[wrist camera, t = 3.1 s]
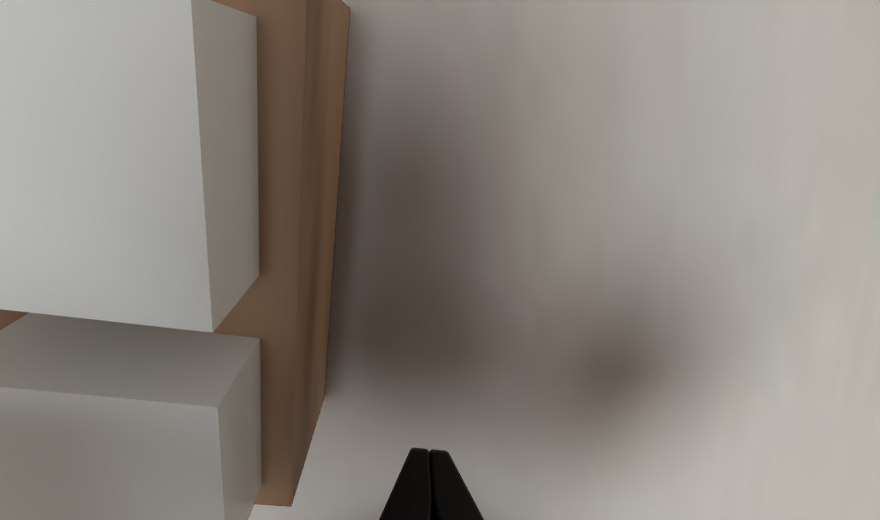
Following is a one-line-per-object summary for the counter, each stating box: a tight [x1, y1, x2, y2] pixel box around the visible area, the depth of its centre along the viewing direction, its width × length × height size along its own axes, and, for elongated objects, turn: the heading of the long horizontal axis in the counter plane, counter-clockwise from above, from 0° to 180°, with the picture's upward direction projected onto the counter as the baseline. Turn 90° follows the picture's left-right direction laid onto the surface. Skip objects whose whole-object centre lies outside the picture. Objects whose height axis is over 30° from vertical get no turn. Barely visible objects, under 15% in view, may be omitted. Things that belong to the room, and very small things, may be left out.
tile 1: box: [0, 313, 262, 520], centre depth 9 cm, size 4×4×2 cm
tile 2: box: [0, 0, 259, 333], centre depth 6 cm, size 4×4×2 cm
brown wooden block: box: [0, 0, 350, 507], centre depth 10 cm, size 10×12×4 cm
